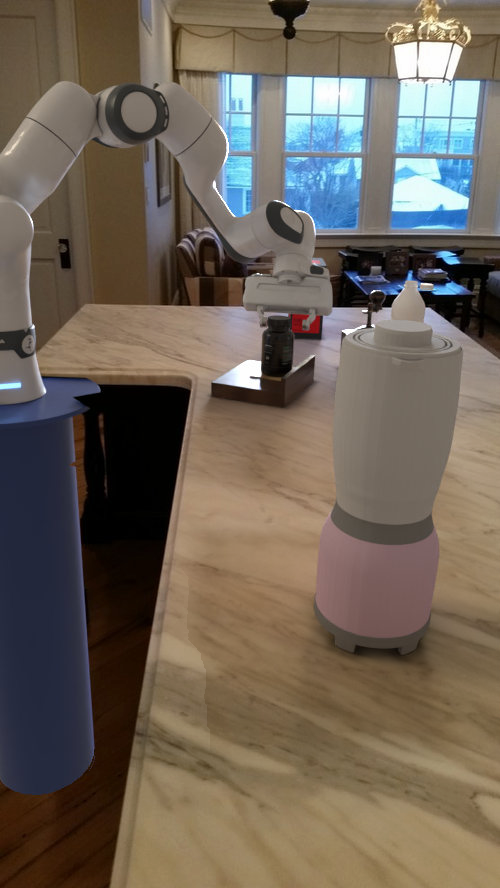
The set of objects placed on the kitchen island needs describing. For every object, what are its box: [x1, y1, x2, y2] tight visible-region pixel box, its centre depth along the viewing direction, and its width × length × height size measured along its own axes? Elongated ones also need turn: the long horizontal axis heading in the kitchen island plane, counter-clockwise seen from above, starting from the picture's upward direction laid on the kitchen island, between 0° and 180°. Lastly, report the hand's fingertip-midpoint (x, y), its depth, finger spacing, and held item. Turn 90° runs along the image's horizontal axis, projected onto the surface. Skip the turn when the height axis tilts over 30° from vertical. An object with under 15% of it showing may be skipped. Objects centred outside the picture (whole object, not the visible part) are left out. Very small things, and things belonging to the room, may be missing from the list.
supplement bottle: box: [260, 314, 295, 377], centre depth 149 cm, size 7×7×12 cm
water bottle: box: [389, 279, 435, 323], centre depth 139 cm, size 9×6×25 cm
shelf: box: [210, 354, 316, 408], centre depth 150 cm, size 16×20×6 cm
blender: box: [313, 319, 464, 656], centre depth 71 cm, size 16×12×32 cm
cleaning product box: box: [287, 257, 328, 340], centre depth 199 cm, size 16×9×20 cm, turn 179°
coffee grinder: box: [339, 289, 387, 355], centre depth 163 cm, size 16×11×18 cm
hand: (284, 327), depth 156 cm, fingers open, 8 cm apart
